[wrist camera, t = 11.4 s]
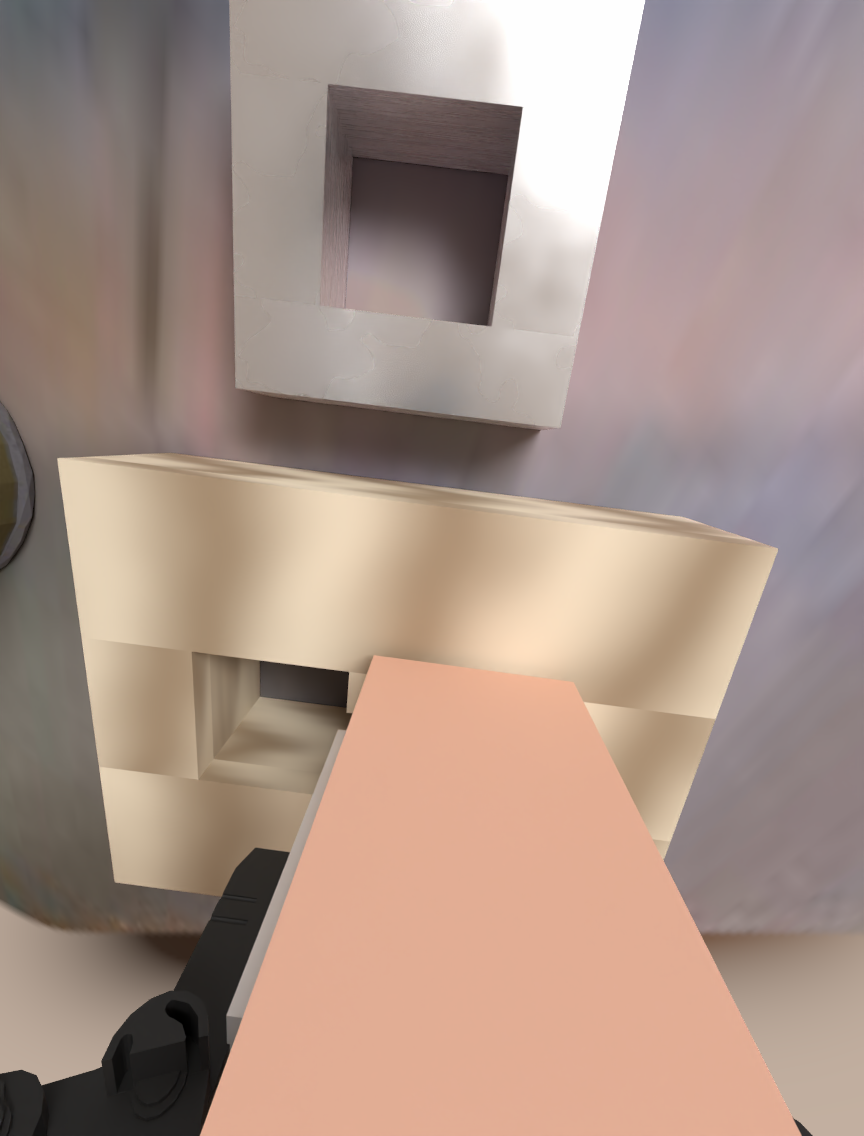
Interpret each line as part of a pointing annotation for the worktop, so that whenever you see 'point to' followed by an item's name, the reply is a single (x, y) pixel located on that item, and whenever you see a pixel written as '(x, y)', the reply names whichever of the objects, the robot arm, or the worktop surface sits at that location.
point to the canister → (13, 489)
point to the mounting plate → (368, 634)
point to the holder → (429, 137)
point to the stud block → (486, 941)
